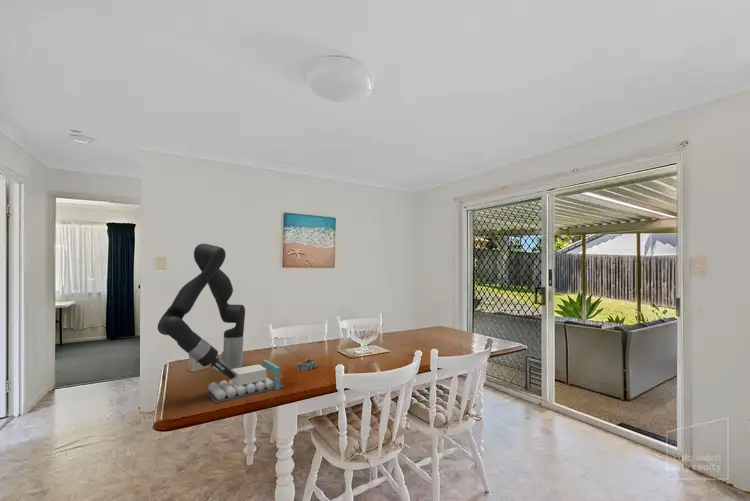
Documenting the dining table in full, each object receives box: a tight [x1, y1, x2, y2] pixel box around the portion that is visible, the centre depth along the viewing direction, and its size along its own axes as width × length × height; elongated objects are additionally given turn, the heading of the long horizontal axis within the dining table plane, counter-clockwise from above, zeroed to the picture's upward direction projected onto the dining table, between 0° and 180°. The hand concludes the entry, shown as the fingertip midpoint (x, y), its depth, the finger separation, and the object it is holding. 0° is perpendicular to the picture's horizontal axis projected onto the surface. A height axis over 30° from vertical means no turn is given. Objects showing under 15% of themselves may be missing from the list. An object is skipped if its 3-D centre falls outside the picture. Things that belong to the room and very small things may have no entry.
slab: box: [230, 364, 268, 385], centre depth 149 cm, size 12×9×4 cm
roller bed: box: [205, 376, 286, 404], centre depth 148 cm, size 29×14×4 cm, turn 129°
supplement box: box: [187, 354, 210, 373], centre depth 175 cm, size 8×5×13 cm, turn 146°
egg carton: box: [295, 357, 319, 372], centre depth 181 cm, size 11×8×4 cm
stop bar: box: [262, 359, 281, 391], centre depth 155 cm, size 2×16×9 cm, turn 39°
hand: (233, 377), depth 145 cm, fingers closed
